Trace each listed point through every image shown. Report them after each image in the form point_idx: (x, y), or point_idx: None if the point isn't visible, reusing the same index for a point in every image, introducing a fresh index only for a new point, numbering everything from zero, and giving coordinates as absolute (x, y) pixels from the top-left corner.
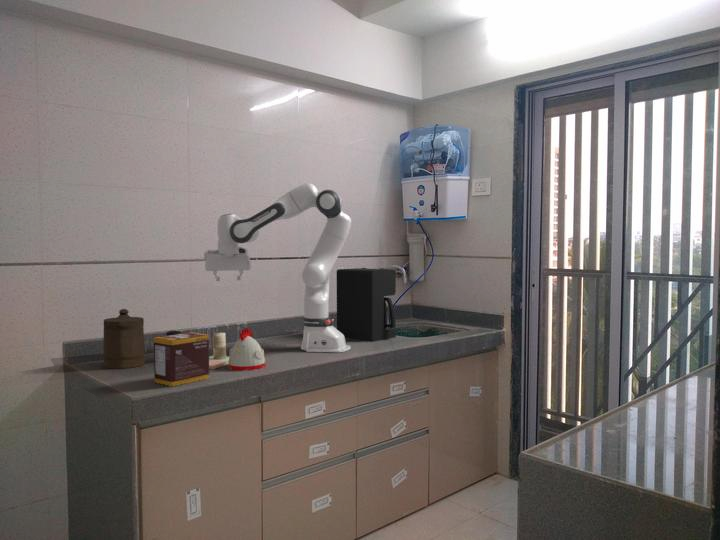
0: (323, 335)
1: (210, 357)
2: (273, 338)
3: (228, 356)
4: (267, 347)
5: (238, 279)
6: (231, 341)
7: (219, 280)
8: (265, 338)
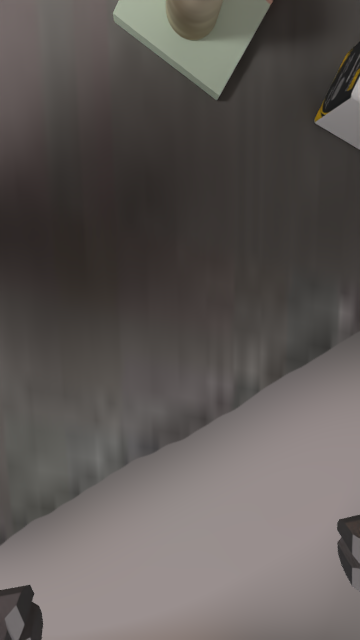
0: None
1: (230, 44)
2: (3, 481)
3: (156, 45)
4: (11, 298)
5: (2, 598)
6: (154, 446)
7: (342, 520)
8: (34, 485)
